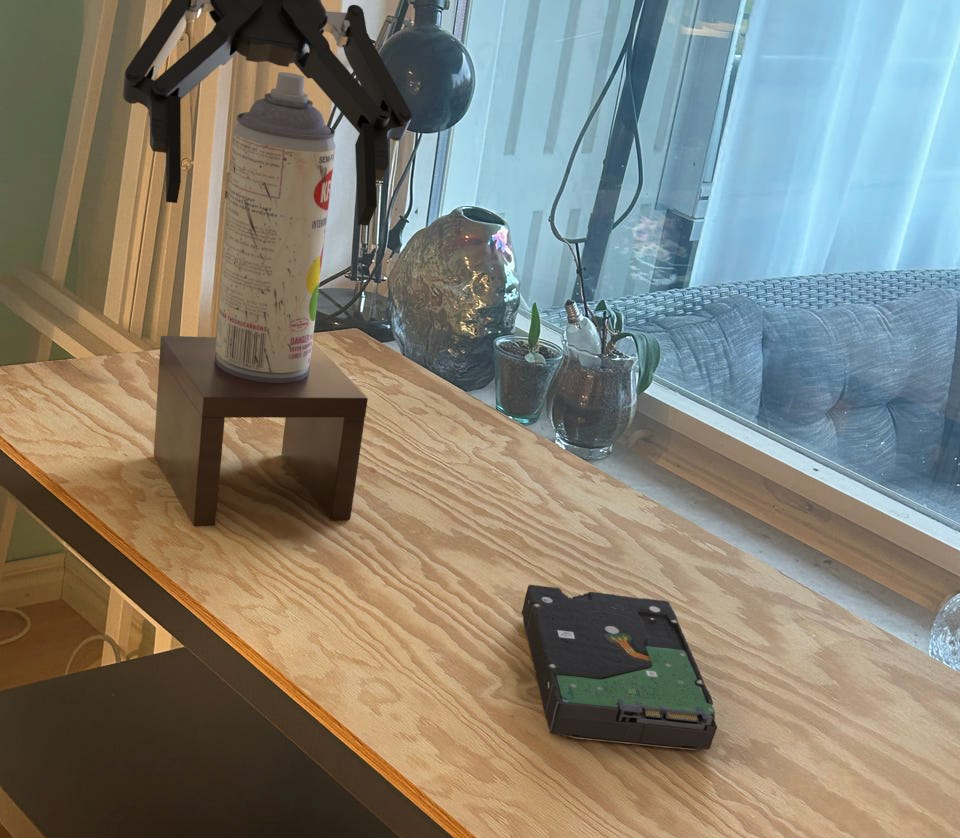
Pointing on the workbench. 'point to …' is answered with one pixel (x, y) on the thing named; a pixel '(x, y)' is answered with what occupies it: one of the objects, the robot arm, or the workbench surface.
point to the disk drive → (616, 670)
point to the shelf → (218, 395)
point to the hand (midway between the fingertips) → (272, 204)
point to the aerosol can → (274, 236)
